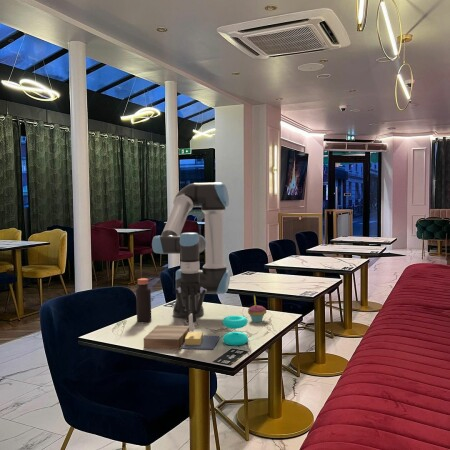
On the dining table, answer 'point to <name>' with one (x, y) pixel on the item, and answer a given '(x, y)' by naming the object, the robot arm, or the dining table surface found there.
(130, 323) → the dining table surface
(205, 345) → the mat
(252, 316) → the cupcake
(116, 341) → the dining table surface
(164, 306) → the dining table surface
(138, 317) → the bottle
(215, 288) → the robot arm
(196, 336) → the yellow flat block
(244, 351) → the dining table surface
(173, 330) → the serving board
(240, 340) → the donuts
